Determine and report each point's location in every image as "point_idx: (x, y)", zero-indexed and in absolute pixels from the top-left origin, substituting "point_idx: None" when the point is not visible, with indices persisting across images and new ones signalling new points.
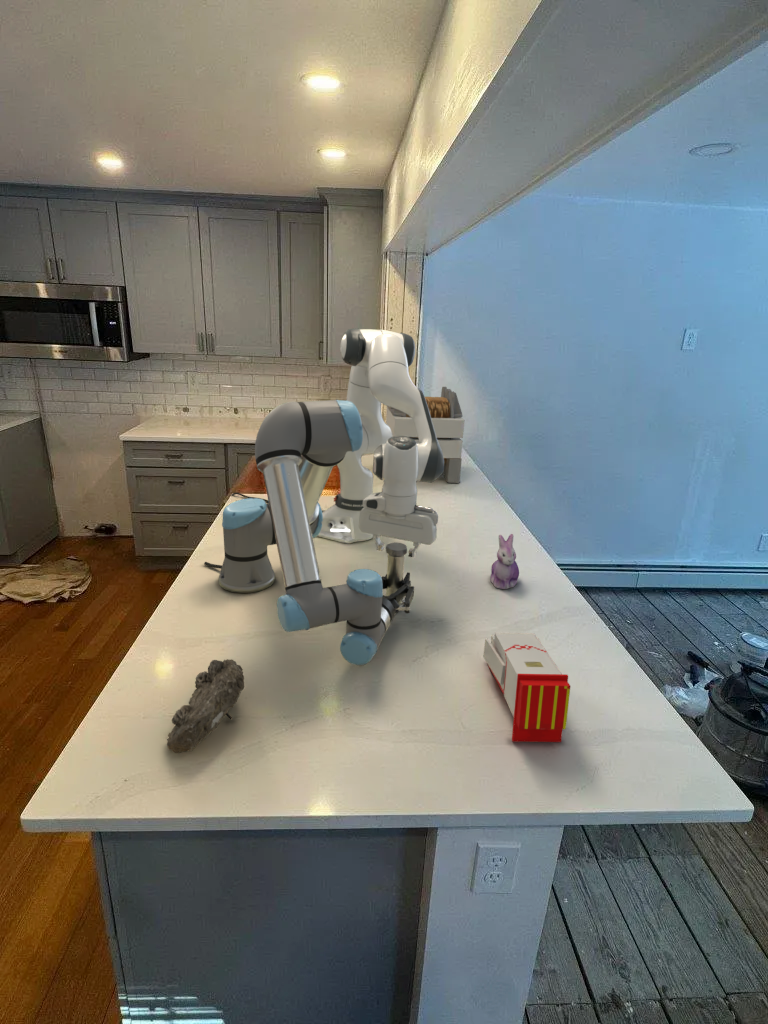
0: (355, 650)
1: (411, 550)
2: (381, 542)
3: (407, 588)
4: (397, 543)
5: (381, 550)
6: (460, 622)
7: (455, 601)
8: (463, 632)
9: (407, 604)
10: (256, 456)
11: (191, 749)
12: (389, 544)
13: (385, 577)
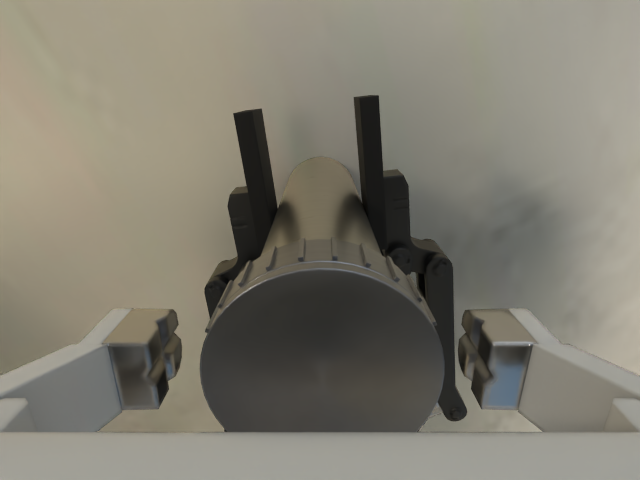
0: None
1: (511, 391)
2: (106, 345)
3: (412, 270)
4: (299, 305)
5: (177, 368)
6: (612, 191)
7: (586, 6)
8: (623, 254)
9: (457, 419)
10: None
11: None
12: (223, 368)
13: (261, 233)
